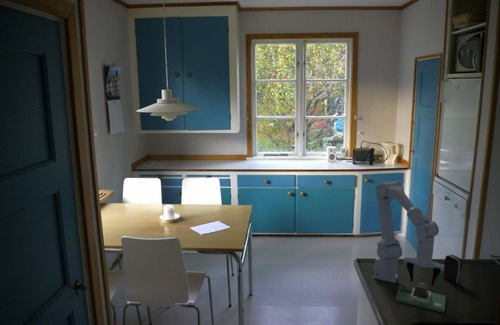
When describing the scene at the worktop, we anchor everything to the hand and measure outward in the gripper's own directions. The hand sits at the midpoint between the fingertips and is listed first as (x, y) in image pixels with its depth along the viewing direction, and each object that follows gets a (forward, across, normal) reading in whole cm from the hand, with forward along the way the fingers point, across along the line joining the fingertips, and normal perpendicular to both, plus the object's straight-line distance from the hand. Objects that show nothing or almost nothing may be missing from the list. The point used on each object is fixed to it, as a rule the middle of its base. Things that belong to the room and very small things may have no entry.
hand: (421, 282), depth 160 cm
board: (+7, 0, 0) cm, 7 cm away
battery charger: (+8, +11, +24) cm, 27 cm away
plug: (+6, 0, 0) cm, 6 cm away
